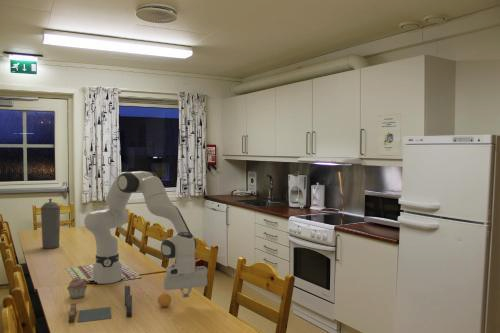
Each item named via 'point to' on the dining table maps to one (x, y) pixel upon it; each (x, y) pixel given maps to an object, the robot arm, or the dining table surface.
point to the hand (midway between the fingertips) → (185, 297)
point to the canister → (50, 224)
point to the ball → (164, 300)
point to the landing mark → (94, 314)
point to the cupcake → (77, 287)
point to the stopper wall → (72, 313)
